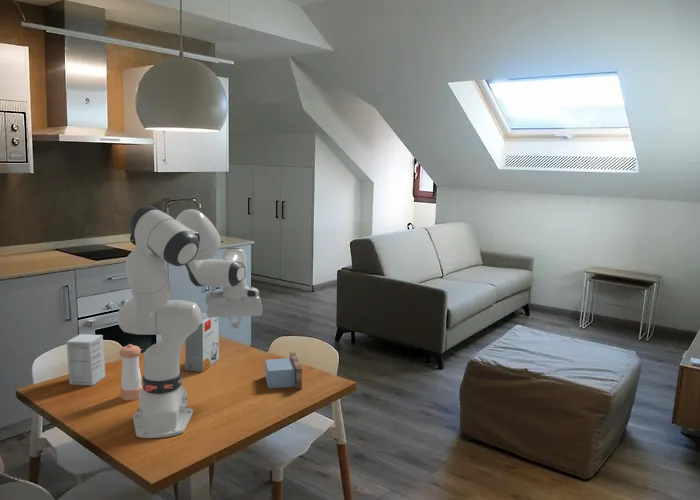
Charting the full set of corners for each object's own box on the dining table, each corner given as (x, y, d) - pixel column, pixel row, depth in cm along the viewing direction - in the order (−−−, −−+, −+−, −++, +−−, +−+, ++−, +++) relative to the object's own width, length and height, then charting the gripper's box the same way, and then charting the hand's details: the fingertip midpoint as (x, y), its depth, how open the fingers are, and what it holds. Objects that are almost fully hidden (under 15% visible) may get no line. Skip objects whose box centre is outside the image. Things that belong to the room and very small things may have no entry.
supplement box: (106, 376, 217) (104, 334, 214) (93, 386, 208) (90, 342, 205) (82, 375, 218) (80, 333, 215) (68, 384, 209) (65, 341, 206)
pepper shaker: (122, 402, 195) (120, 349, 192) (119, 394, 201) (117, 343, 198) (144, 398, 198) (142, 345, 195) (140, 390, 205) (138, 340, 202)
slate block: (295, 387, 212) (295, 369, 210) (268, 388, 209) (268, 371, 208) (290, 375, 223) (290, 358, 222) (265, 376, 221) (265, 359, 220)
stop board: (301, 388, 209) (301, 368, 208) (296, 389, 209) (296, 368, 207) (294, 371, 226) (294, 352, 225) (289, 371, 226) (289, 352, 225)
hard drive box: (202, 372, 223) (201, 324, 220) (185, 370, 225) (183, 322, 221) (219, 359, 238) (218, 313, 235) (202, 357, 240) (201, 312, 236)
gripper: (205, 293, 201) (205, 331, 203) (263, 292, 206) (262, 329, 208) (205, 290, 207) (205, 327, 209) (261, 289, 212) (261, 324, 214)
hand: (234, 328), depth 208 cm, fingers closed
